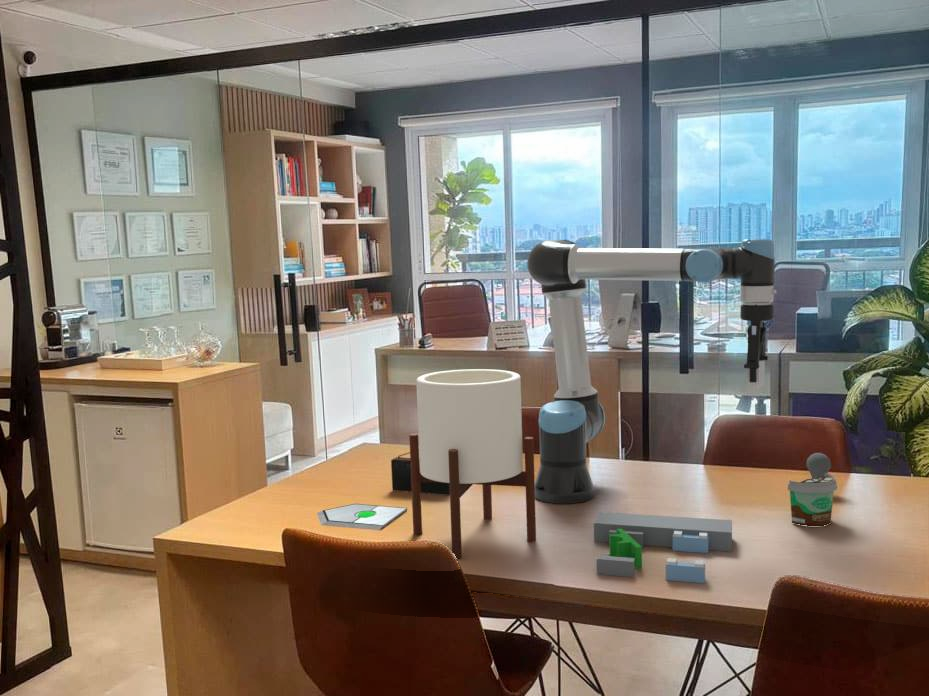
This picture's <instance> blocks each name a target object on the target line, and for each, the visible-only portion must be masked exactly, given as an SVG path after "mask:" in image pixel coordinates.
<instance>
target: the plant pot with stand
mask: <svg viewBox="0 0 929 696" xmlns="http://www.w3.org/2000/svg"><path fill="white" fill-rule="evenodd" d="M521 380H522V379H521V375H520V374H519V373H517V372H514V371H512V370H511V371H510V370H503V369H486V368H481V369H480V368H477V369H476V368H475V369H474V368H472V369H470V368H469V369H452V370H442V371H434V372H430V373H425V374H423V375H420V376H418V377H417V378H416V379H415V384H416V386H415V387H416V405H417V406H416V410H417V431H418V433H415V432H414V433H410V434H409V435H408V436H409V438H408V439H409V452H410V453H409V458H410V463H411V487H412V492H411V504H412V505H411V507H412V508H411V509H412V527H413V530H412V531H413V533H412V534H413V535H415V536H420V535H423V523H422V522H423V521H422V520H423V519H422V516H423V515H422V499H421V497H422V495H421V494H422V493H421V491H420V482H435V483H449V484H450V495H449V502H450V503H449V504H450V505H449V506H450V508H449V509H450V530H451V531H450V533H451V536H450V537H451V538H450V539H451V553H452V552H453V553H454V554H455V556H456V558H457V559H458V560H462V558H463V556H462V555H463V553H462V551H463V550H462V549H463V547H462V525H461V524H462V523H461V498H462V497H463V496H464V494H465V493H467V491H468V490H469V489H470V488H471V487H472V486H473V485H479V486H480V485H482V507H483V509H482V511H483V519H484V520H485V521H489V520H490V521H491V520H492V519H493V505H492V497H493V496H492V486H503V487H504V486H507V487H525V509H526V510H525V512H526V517H525V518H526V541H527V542H529V543H534V542H536V541H537V527H536V525H537V524H536V522H537V521H536V498H535V482H536V480H535V479H536V477H535V451H534V450H535V449H534V448H535V446H534V442H535V441H534V437H533V436H525V437H524V439H523V425H522V424H523V423H522V422H523V420H522V418H523V417H522V385H521V382H522V381H521ZM523 440H524V453H523ZM523 454H524V456H523ZM523 459H524V460H523ZM419 461H420V467H419ZM523 462H524V463H523ZM523 470H524V471H523ZM458 560H457V561H458Z"/></svg>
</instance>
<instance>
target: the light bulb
mask: <svg viewBox="0 0 929 696" xmlns="http://www.w3.org/2000/svg"><path fill="white" fill-rule="evenodd" d="M806 467H807V469H808V471H809V474H810V475H811V479H817V478H821V477H824V474H825V473H827V474H829V471H830V470H831V467H832V463H831V459H830V458H829V457H828V456H827V455H826V454H824V453H822V452H815V453H813V454H812V453H811V454H810V456H808V457H807V460H806Z"/></svg>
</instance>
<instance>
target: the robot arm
mask: <svg viewBox="0 0 929 696" xmlns="http://www.w3.org/2000/svg"><path fill="white" fill-rule="evenodd" d="M775 259H776V256H775V243H774V241H773V240H772V239H770V238H751V239H749V238H748V239H746V238H745V239H743V240H741V243H740V246H739V247H734V248H733V247H711V248H710V247H709V248H708V247H700V248H599V247H598V248H596V247H595V248H593V247H592V248H585V247H582V246H580V245H579V244H578V243H576V242H573V241H571V240H568V239H558V240H557V239H556V240H554V239H553V240H551V239H550V240H548V239H547V240H544V241H540V242H539V243H537V244H535V246H533V248H532V249H531V250H530V251H529V254H528V257H527V270H528V273H529V275H530V277H532V279H533V280H534V281H535V282H536V283H538V284H540V285H541V294H542V296H544V297H545V298H547V300H548V304H549V305H548V306H549V313H550V322H551V330H552V341H553V348H554V350H553V351H554V359H555V367H556V368H555V369H556V377H557V385H558V389H557V390H556V392H555V394H554V395H553V399H554V401H551V402H547V403H546V404H544V405H542V406H541V408H540V409H539V413H538V414H539V415H538V416H539V417H538V422H537V423H538V431H539V432H538V433H539V435H538V436H539V438H538V439H539V469H538V472H537V476H536V477H535V479H536V480H535V499H537V500H539V501H542V502H546V503H549V504H561V505H562V504H578V503H583V502H586V501H589V500H591V499H592V498H594V497H595V496H594V495H595V487H594V483H593V481H592V477H591V475H590V472H589V469H588V466H587V443H588V442H591V441H592V440H594V439H595V438H596V437H598V435H600V433H601V431H602V429H604V426H605V422H606V413H605V410H604V408H603V405H602V404H601V402H600V401H599V393H598V390H597V389H596V388H594V387H593V386H592V382H591V381H592V380H591V374H590V364H589V355H588V347H587V338H586V328H585V320H584V319H585V317H584V309H583V302H582V301H583V300H582V295H583V294H584V292H585V291H586V290H587V284H586V282H587V280H591V281H592V280H598V281H601V280H602V281H605V280H606V281H607V280H608V281H663V282H664V281H666V282H667V281H668V282H674V281H675V282H697V283H711V282H712V281H715V280H733V279H735V280H738V279H740V289H739V290H740V292H739V293H740V300H739V301H740V303H742V304H741V305H740V319H741V320H743V321H748V322H749V321H750V325H749V326H748V327H747V330H746V333H747V355H746V364H745V363H744V364H743V368H744V369H746V371H747V372H746V396H747V397H748V396H749V397H760V388H764V387H765V374H766V373H765V371H766V370H765V368H766V367H765V366H766V363H765V361H768V359H769V357H768V355H766V354H767V353H766V345H765V344H766V334H767V328H766V327H765V326H766V323H765V322H767V321H768V322H769V321H771V320H772V321H773V319H774V317H775V316H774V304H772V303H773V302H774V298H775V295H776V294H777V290H776V289H774V287H775V286H774V285H775V264H776V263H775V261H776V260H775ZM774 294H775V295H774Z"/></svg>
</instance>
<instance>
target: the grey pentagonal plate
mask: <svg viewBox="0 0 929 696" xmlns="http://www.w3.org/2000/svg"><path fill="white" fill-rule="evenodd" d="M407 511H408V507H400V506H390V505H389V506H388V505H386V506H385V505H375V504H374V505H373V504H365V503H364V504H362V503H352V504H348V505H342V506H338V507H333V508H328V509H323V510H320V511H318V512H316V515H317V517H318V521H319V523H320V525H321V526H326V527H328V526H329V527H337V528H339V527H340V528H349V529H359V530H369V531H370V530H373V531H381V530H382V529H383V528H384V527H386V526H387V525H389V524H390V523H391V522H393V521H394V520H395V519H397V518H398V517H400V516H401V515H402V514H404V513H405V512H407Z"/></svg>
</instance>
